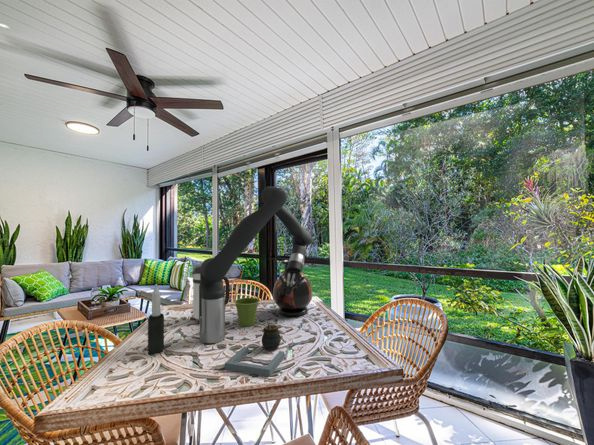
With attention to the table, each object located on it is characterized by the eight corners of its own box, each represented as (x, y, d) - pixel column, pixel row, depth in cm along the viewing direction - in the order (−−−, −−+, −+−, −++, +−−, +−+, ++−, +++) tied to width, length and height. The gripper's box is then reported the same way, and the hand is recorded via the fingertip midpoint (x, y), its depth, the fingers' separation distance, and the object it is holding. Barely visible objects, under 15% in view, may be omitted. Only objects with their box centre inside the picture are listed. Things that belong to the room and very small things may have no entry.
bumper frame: (224, 369, 91) (224, 362, 91) (244, 352, 103) (244, 346, 103) (269, 376, 86) (269, 369, 86) (284, 357, 99) (284, 351, 99)
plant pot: (229, 327, 129) (229, 303, 129) (241, 319, 140) (240, 297, 141) (253, 329, 126) (253, 304, 126) (263, 321, 138) (263, 298, 138)
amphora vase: (267, 309, 157) (267, 259, 158) (302, 305, 166) (301, 257, 167) (281, 321, 137) (281, 264, 138) (320, 315, 146) (319, 261, 147)
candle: (149, 349, 106) (149, 283, 107) (164, 347, 108) (164, 282, 109) (147, 355, 101) (147, 285, 102) (162, 353, 103) (163, 284, 104)
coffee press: (214, 325, 132) (214, 261, 133) (184, 323, 135) (183, 261, 136) (230, 314, 149) (229, 258, 150) (202, 313, 152) (202, 257, 153)
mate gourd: (268, 353, 102) (268, 326, 102) (257, 347, 108) (257, 321, 108) (284, 348, 106) (283, 321, 107) (273, 342, 112) (272, 317, 112)
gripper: (281, 259, 138) (271, 290, 126) (307, 259, 134) (300, 291, 122) (285, 268, 143) (276, 298, 131) (310, 269, 139) (303, 300, 127)
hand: (288, 295), depth 126 cm, fingers closed
